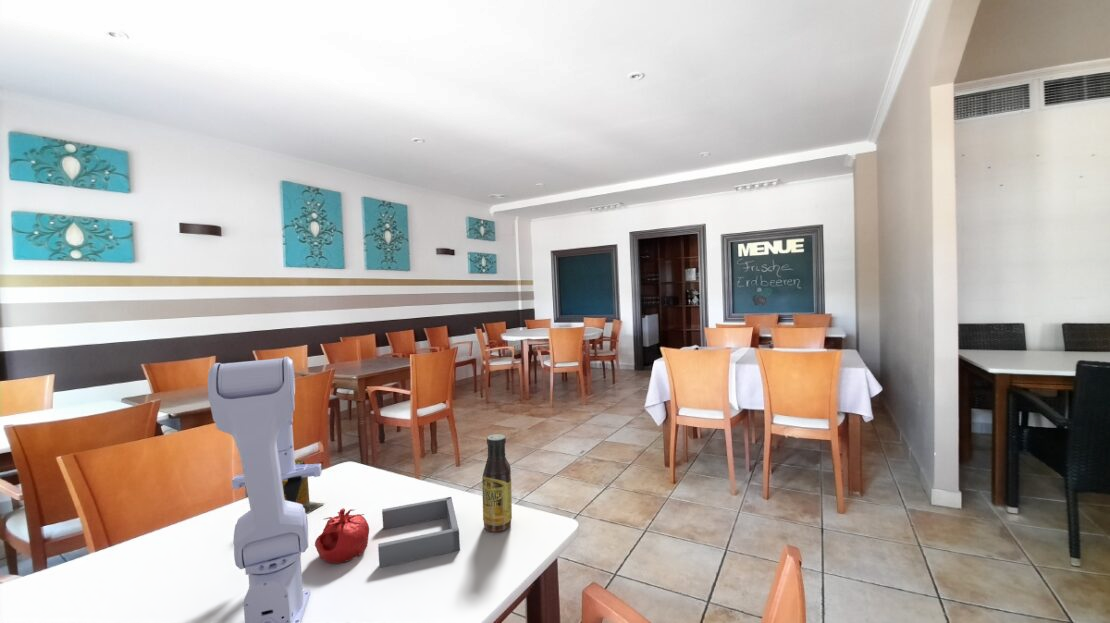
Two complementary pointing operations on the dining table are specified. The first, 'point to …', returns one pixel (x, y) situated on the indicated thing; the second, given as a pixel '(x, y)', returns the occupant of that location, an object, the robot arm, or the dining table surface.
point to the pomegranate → (343, 537)
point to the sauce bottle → (497, 486)
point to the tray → (423, 543)
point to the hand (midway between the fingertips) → (281, 518)
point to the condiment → (303, 493)
